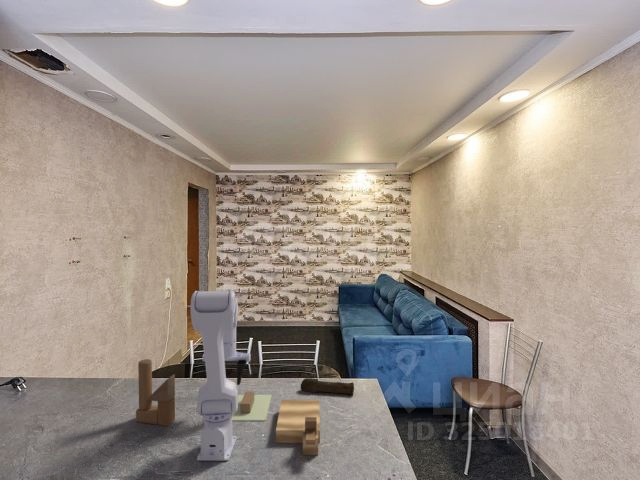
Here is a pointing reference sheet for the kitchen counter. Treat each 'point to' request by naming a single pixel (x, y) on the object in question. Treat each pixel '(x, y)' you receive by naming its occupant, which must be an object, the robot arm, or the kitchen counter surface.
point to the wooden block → (155, 397)
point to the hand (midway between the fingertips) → (226, 383)
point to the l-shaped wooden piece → (310, 430)
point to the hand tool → (326, 386)
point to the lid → (252, 407)
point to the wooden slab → (297, 423)
